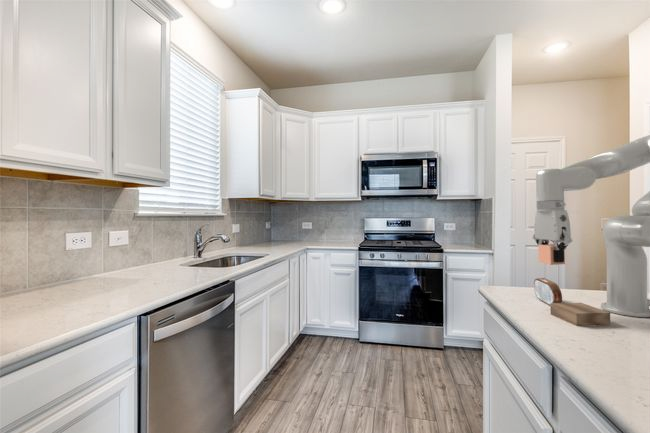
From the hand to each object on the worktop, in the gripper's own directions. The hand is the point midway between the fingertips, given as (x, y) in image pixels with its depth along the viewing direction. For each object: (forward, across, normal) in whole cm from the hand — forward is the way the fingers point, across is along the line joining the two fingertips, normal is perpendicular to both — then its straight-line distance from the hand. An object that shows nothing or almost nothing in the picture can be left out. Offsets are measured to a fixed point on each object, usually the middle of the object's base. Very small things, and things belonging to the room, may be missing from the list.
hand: (551, 260), depth 102 cm
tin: (+18, +9, -6) cm, 21 cm away
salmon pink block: (+1, 0, 0) cm, 1 cm away
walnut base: (+18, -8, -1) cm, 19 cm away
